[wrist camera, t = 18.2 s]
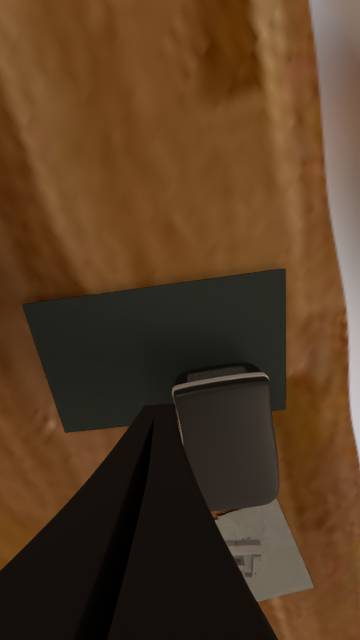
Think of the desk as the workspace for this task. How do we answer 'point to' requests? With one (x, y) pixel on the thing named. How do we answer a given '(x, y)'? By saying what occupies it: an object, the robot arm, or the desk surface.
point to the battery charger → (229, 434)
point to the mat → (156, 343)
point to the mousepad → (265, 550)
